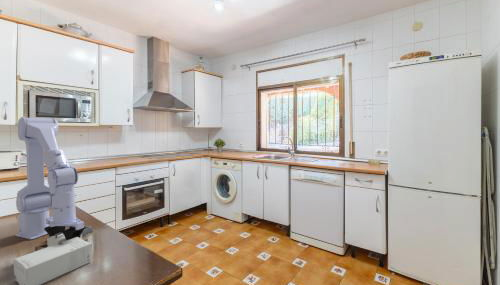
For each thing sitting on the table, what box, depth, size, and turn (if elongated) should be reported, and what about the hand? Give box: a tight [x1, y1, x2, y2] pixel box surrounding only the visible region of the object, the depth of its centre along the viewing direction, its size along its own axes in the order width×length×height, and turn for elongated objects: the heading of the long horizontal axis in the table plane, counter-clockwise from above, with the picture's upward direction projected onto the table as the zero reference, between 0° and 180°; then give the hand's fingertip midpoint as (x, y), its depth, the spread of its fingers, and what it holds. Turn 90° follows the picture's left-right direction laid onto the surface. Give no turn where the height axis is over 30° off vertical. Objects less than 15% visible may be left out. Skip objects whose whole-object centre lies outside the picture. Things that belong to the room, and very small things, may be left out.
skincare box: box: [13, 237, 93, 285], centre depth 65 cm, size 8×6×15 cm
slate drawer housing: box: [48, 225, 93, 238], centre depth 87 cm, size 8×10×2 cm
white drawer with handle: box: [46, 232, 83, 247], centre depth 74 cm, size 5×7×7 cm
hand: (65, 248), depth 74 cm, fingers open, 6 cm apart
